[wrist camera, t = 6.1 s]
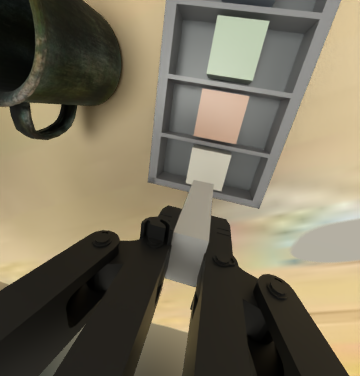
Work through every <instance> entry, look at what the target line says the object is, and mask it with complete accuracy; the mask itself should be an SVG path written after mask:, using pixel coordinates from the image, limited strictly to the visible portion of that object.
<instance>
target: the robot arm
mask: <svg viewBox="0 0 360 376" xmlns="http://www.w3.org/2000/svg"><path fill="white" fill-rule="evenodd" d="M213 187H214V184H210V183H206V182H201V181H197V180H193V183H192V185H191V188H190V191H189V193H188V196H187V198H186V201H185V203H184V206H183V209H180V208H176V207H172V206H167V207H165V208H163V209H162V211H161V212H160V215H159V216H158V217H149V218H147V219H145V220H143V221H142V224H141V234H140V239H139V240H135V241H120V239H119V236H118V235H117V234H116V233H114V232H112V231H104V230H102V231H97V232H94V233H92V234H90V235H88V236H87V237H85V238H84V239H82V240H80V241H79V242H77V243H76V244H74V245H72V246H71V247H69V248H68V249H66V250H65V251H63V252H61V253H60V254H58V255H57V256H55V257H53V258H52V259H50V260H49V261H47V262H45V263H44V264H42V265H41V266H39V267H37V268H36V269H34V270H33V271H31V272H29V273H28V274H26V275H25V276H23V277H21V278H20V279H18V280H17V281H15V282H13V283H12V284H10V285H9V286H7V287H5V288H4V289H3V290H1V291H0V376H39V375H40V374H41V373H42V371H43V370H44V369H45V368H46V367H47V366H48V365H49V364H50V363H51V362H52V360H53V359H54V358H55V357H56V356H57V355H58V354H59V353H60V352H61V351H62V349H63V348H64V347H65V346H66V345H67V344H68V343H69V342H70V341H71V340H72V338H73V337H74V336H75V335H76V334H77V333H78V332H79V331H80V330H81V328H83V326H84V325H85V324H86V325H85V326H84V328H83V329H82V331H81V332H80V334H79V336H78V337H77V339H76V340H75V342H74V344H73V345H72V347H71V348H70V350H69V352H68V353H67V355H66V356H65V358H64V359H63V361H62V363H61V364H60V366H59V367H58V369H57V370H56V372H55V374H54V375H53V376H134V373H135V370H136V367H137V364H138V361H139V358H140V355H141V352H142V348H143V346H144V343H145V339H146V336H147V333H148V330H149V327H150V324H151V321H152V318H153V315H154V312H155V309H156V306H157V303H158V300H159V296H160V293H161V290H162V286H163V281H164V278H166V279H170V280H173V281H176V282H180V283H183V284H186V285H190V286H193V287H196V291H195V295H194V298H193V301H192V305H191V308H190V309H191V310H192V311H191V318H190V325H189V332H188V339H187V346H186V353H185V360H184V368H183V374H182V376H349V375H348V373H347V372H346V370H345V368H344V367H343V365H342V364H341V362H340V361H339V359H338V358H337V356H336V355H335V353H334V352H333V350H332V349H331V347H330V345H329V344H328V342H327V341H326V339H325V338H324V336H323V335H322V333H321V332H320V330H319V329H318V327H317V325H316V324H315V322H314V321H313V319H312V318H311V316H310V315H309V313H308V312H307V310H306V309H305V307H304V305H303V304H302V302H301V301H300V299H299V298H298V296H297V295H296V293H295V292H294V290H293V289H292V288H291V287H290V286H289V284H287V283H286V282H285V281H283V280H282V279H280V278H278V277H276V276H274V275H270V274H264V275H262V276H260V277H259V279H257V278H256V277H254V276H252V275H250V274H248V273H247V272H245V271H243V270H242V269H241V268H240V267H239V266H238V263H237V260H236V259H235V257H234V256H233V252H232V242H231V232H230V225H229V223H228V222H227V220H226V219H222V218H218V217H214V216H211V210H212V199H213ZM196 284H197V285H196Z"/></svg>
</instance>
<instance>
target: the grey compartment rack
mask: <svg viewBox="0 0 360 376" xmlns="http://www.w3.org/2000/svg"><path fill="white" fill-rule="evenodd" d="M340 2H341V0H275V2H274V4H273V6H272V7H262V6H253V5H243V4H234V3H224V2H222V0H166V5H165V15H164V25H163V35H162V46H161V56H160V66H159V76H158V86H157V96H156V106H155V116H154V126H153V136H152V146H151V156H150V166H149V176H148V182H149V183H153V184H157V185H162V186H166V187H170V188H174V189H178V190H183V191H187V192H189V191H190V188H191V184H187V183H186V178H187V173H188V168H189V162H190V157H191V152H192V147H193V146H194V145H195V144H197V145H202V146H206V147H211V148H216V149H221V150H226V151H230V152H231V155H232V156H231V159H230V163H229V166H228V170H227V173H226V177H225V180H224V184H223V187H222V191H217V190H213V198H216V199H221V200H225V201H229V202H233V203H237V204H242V205H246V206H250V207H254V208H258V209H259V208H260V205H261V203H262V200H263V198H264V195H265V192H266V190H267V187H268V185H269V182H270V180H271V177H272V175H273V172H274V170H275V167H276V164H277V162H278V159H279V157H280V154H281V152H282V149H283V147H284V144H285V142H286V139H287V137H288V134H289V131H290V129H291V126H292V124H293V121H294V119H295V116H296V114H297V111H298V109H299V106H300V103H301V101H302V98H303V96H304V93H305V91H306V88H307V86H308V83H309V81H310V78H311V76H312V73H313V70H314V68H315V65H316V63H317V60H318V58H319V55H320V53H321V50H322V48H323V45H324V42H325V40H326V37H327V35H328V32H329V30H330V27H331V25H332V22H333V20H334V17H335V15H336V12H337V9H338V7H339V4H340ZM218 15H221V16H230V17H239V18H248V19H256V20H265V21H270V22H269V25H268V29H267V32H266V36H265V39H264V43H263V46H262V50H261V53H260V57H259V60H258V64H257V67H256V71H255V74H254V78H253V81H252V82H251V83H250V84H243V83H237V82H231V81H224V80H218V79H212V78H208V76H207V74H206V73H207V68H208V63H209V58H210V52H211V47H212V42H213V37H214V31H215V26H216V21H217V16H218ZM202 88H203V89H209V90H215V91H221V92H227V93H233V94H239V95H245V96H250V97H249V100H248V104H247V107H246V111H245V114H244V118H243V121H242V125H241V128H240V132H239V135H238V139H237V142H236V144H232V143H227V142H222V141H217V140H212V139H207V138H202V137H197V136H193V135H194V130H195V125H196V120H197V114H198V109H199V104H200V98H201V93H202Z"/></svg>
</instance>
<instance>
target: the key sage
mask: <svg viewBox="0 0 360 376" xmlns="http://www.w3.org/2000/svg"><path fill="white" fill-rule="evenodd" d="M269 22H270V21H265V20H256V19H248V18H239V17H230V16H221V15H218V16H217V21H216V26H215V31H214V37H213V42H212V47H211V52H210V58H209V63H208V68H207V73H206V74H207V76H208V78H212V79H218V80H224V81H231V82H237V83H243V84H250V83H251V82H252V81H253V78H254V74H255V71H256V67H257V64H258V60H259V57H260V53H261V50H262V46H263V43H264V39H265V36H266V32H267V29H268V25H269Z"/></svg>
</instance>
